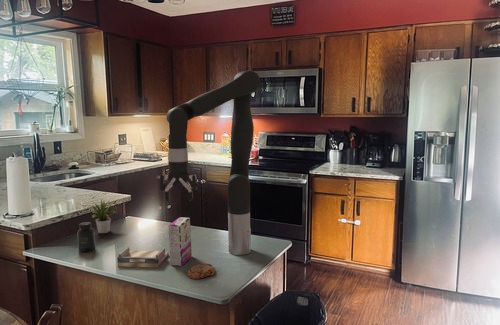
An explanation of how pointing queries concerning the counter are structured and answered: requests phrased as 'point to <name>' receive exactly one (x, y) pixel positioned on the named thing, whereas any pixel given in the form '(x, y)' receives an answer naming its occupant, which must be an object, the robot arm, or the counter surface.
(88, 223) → the supplement bottle
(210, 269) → the cookie
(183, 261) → the candy bar box
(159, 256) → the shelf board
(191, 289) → the counter surface
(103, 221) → the house plant
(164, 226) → the counter surface
